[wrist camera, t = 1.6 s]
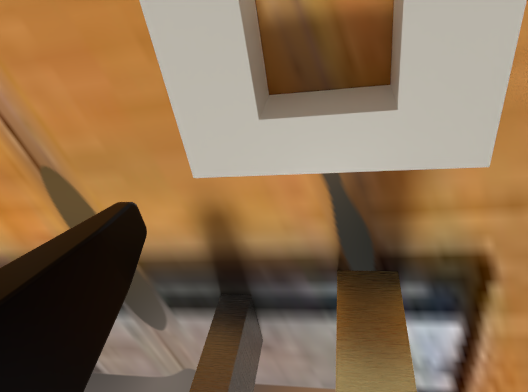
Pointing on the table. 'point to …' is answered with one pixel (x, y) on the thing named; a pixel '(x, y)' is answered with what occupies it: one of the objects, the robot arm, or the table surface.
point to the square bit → (372, 334)
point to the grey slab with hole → (337, 91)
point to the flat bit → (230, 348)
